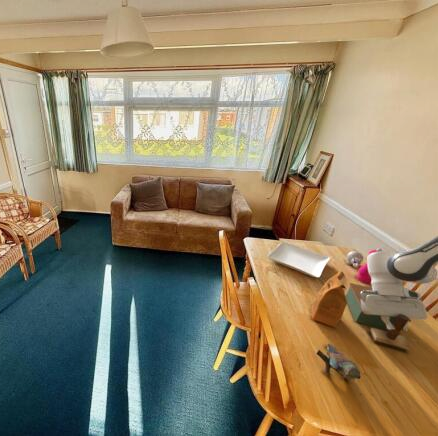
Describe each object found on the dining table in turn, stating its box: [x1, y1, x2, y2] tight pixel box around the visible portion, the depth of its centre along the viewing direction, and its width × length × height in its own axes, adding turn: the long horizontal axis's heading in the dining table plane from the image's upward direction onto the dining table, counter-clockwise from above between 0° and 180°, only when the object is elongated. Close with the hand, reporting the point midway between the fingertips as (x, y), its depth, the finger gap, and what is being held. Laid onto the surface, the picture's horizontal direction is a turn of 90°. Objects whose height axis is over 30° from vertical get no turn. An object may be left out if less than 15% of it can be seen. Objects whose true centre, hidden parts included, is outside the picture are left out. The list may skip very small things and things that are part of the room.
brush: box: [369, 314, 412, 353], centre depth 87 cm, size 10×5×14 cm, turn 65°
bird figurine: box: [315, 343, 362, 380], centre depth 78 cm, size 13×10×20 cm
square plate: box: [266, 241, 331, 278], centre depth 138 cm, size 27×27×4 cm
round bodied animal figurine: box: [344, 250, 364, 269], centre depth 132 cm, size 7×12×8 cm, turn 146°
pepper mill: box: [356, 247, 383, 284], centre depth 119 cm, size 7×7×20 cm
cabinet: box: [345, 282, 412, 332], centre depth 101 cm, size 16×17×8 cm
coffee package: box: [310, 270, 348, 328], centre depth 97 cm, size 10×12×22 cm
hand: (397, 330), depth 86 cm, fingers closed on brush, 3 cm apart
